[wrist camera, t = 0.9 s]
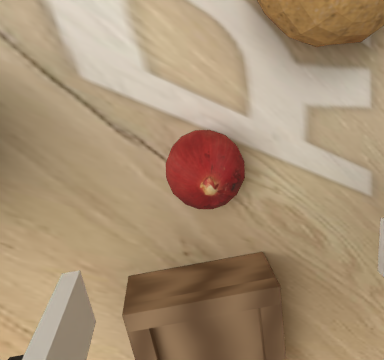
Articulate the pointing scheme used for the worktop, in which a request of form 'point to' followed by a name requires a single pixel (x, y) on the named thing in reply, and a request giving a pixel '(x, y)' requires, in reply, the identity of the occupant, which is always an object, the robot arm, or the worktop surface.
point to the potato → (326, 19)
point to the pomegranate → (205, 169)
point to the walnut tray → (206, 312)
